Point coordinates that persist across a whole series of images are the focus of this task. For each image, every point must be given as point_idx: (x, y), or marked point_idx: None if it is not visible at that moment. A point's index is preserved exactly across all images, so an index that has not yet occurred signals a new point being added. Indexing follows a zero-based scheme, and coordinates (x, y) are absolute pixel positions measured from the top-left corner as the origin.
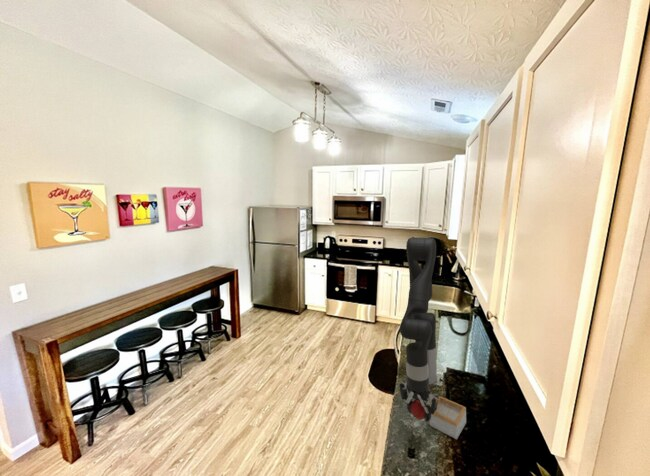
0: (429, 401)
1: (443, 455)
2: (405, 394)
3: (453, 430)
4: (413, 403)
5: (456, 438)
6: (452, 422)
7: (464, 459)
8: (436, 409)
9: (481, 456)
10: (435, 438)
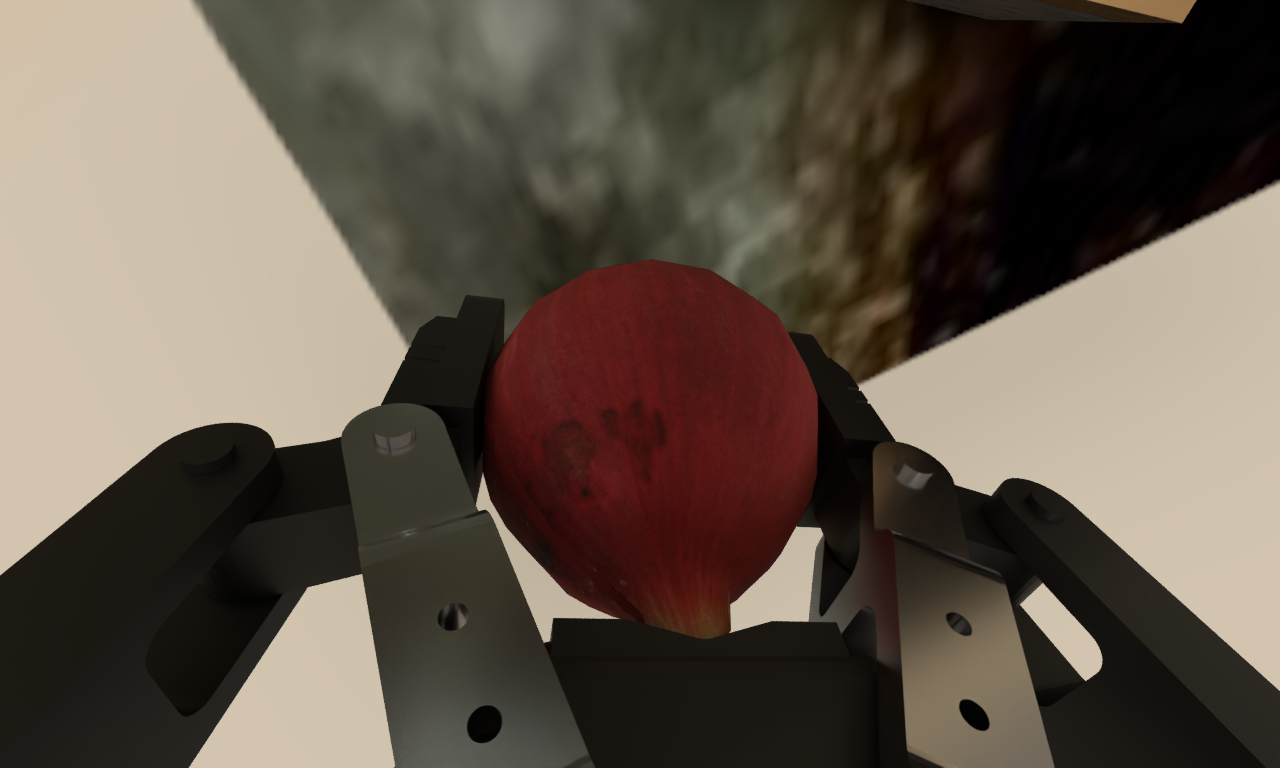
0: (992, 569)
1: (839, 287)
2: (217, 548)
3: (1022, 11)
4: (565, 591)
5: (993, 18)
6: (1107, 11)
7: (1005, 234)
8: (1073, 518)
9: (1176, 118)
10: (763, 137)
